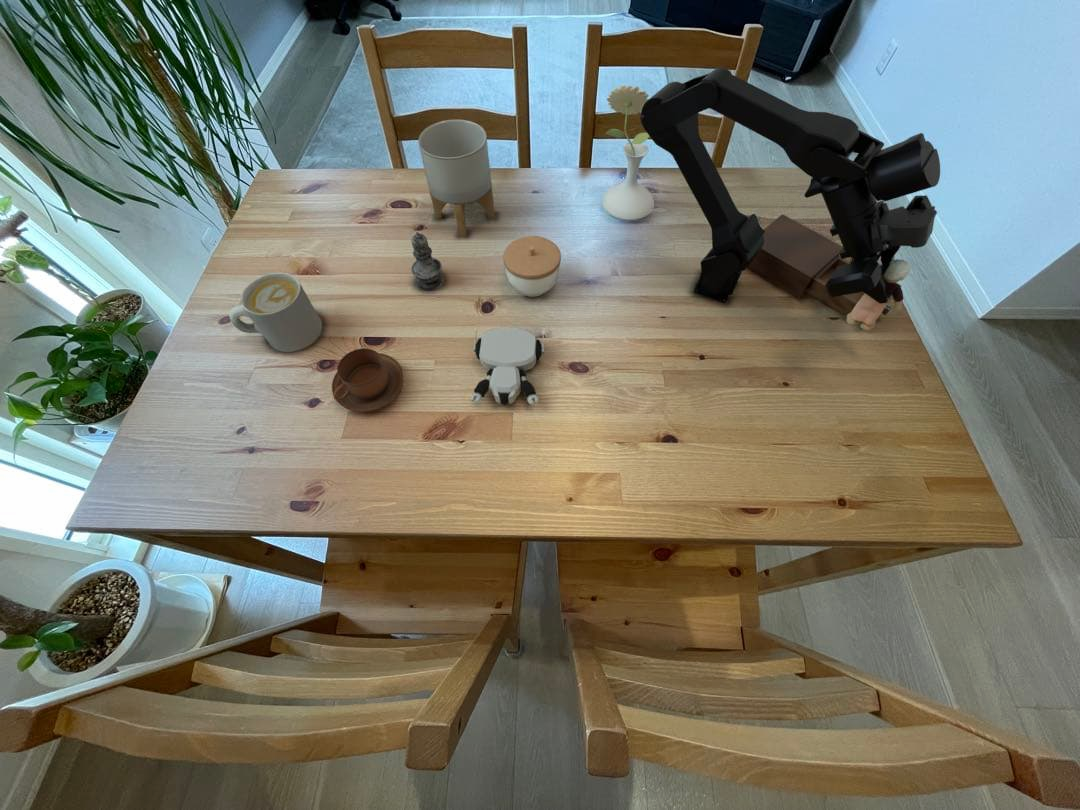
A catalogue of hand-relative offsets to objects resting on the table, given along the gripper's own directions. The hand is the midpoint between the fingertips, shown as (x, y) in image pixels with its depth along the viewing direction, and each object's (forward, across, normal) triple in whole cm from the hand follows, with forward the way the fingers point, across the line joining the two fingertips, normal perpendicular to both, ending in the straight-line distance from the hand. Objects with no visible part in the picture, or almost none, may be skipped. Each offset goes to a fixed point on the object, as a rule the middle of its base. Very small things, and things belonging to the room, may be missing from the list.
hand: (887, 297), depth 80 cm
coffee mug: (-50, -57, +70) cm, 103 cm away
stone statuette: (-41, -32, +61) cm, 80 cm away
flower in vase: (-28, +10, +47) cm, 56 cm away
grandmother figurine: (+4, 0, +6) cm, 7 cm away
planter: (-46, -13, +66) cm, 82 cm away
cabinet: (-2, +14, +22) cm, 26 cm away
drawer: (+6, +11, +12) cm, 17 cm away
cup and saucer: (-34, -56, +54) cm, 85 cm away
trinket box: (-29, -20, +49) cm, 60 cm away
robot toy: (-22, -40, +42) cm, 62 cm away
